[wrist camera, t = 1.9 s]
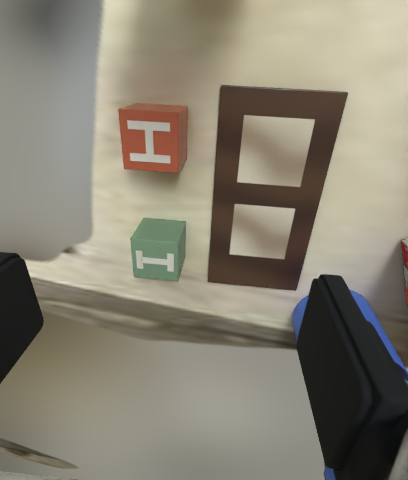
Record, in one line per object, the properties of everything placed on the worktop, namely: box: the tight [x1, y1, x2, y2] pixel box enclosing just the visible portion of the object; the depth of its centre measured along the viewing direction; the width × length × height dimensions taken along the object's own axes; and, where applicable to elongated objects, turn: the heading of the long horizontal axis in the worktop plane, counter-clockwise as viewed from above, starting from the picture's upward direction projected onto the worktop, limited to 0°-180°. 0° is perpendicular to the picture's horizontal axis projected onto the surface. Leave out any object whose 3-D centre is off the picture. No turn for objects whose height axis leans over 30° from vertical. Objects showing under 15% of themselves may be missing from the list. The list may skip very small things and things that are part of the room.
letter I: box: [131, 218, 186, 282], centre depth 30 cm, size 4×4×5 cm
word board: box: [208, 85, 348, 291], centre depth 28 cm, size 20×10×1 cm, turn 177°
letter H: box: [118, 103, 188, 173], centre depth 24 cm, size 4×4×5 cm
